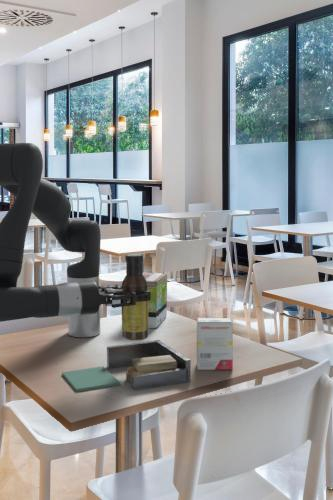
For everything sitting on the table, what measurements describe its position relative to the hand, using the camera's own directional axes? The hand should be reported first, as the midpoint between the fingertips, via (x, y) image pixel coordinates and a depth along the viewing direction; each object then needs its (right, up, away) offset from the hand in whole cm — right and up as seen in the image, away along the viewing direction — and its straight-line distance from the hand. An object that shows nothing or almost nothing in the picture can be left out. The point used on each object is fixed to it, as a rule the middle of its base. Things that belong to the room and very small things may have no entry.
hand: (144, 292), depth 141 cm
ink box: (+17, -18, +4) cm, 25 cm away
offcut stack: (+2, -19, -5) cm, 20 cm away
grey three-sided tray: (+1, -19, -1) cm, 19 cm away
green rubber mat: (-12, -19, -5) cm, 23 cm away
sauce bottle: (-2, -11, 0) cm, 11 cm away
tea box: (-1, -13, +47) cm, 49 cm away
